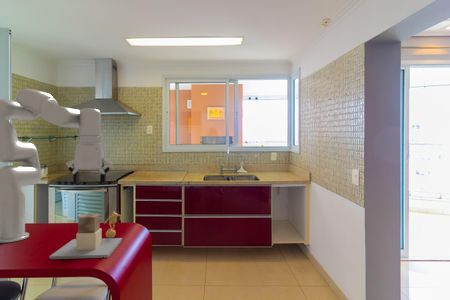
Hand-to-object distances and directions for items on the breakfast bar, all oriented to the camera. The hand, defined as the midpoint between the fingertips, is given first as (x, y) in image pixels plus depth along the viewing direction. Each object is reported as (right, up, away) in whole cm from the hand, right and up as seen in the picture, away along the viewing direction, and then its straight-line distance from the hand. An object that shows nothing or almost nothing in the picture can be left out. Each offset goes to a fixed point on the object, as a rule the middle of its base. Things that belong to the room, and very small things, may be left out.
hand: (89, 184), depth 114 cm
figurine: (+4, -26, +13) cm, 29 cm away
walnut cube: (0, -18, 0) cm, 18 cm away
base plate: (0, -25, 0) cm, 25 cm away
